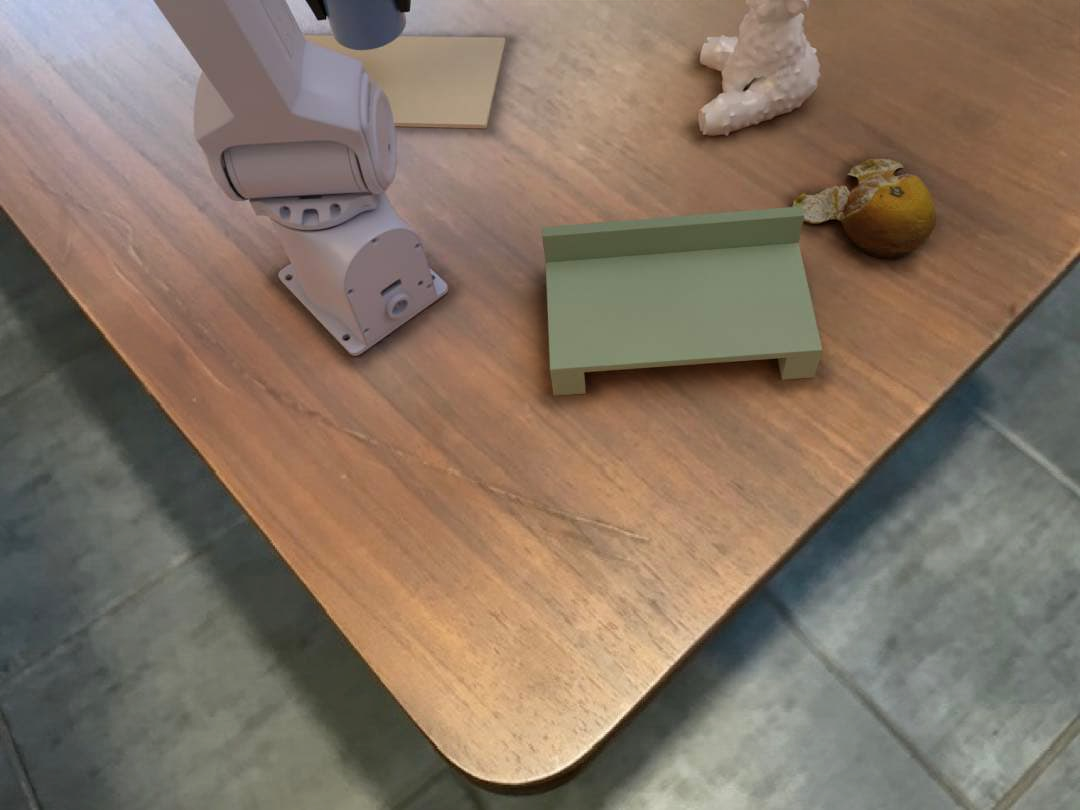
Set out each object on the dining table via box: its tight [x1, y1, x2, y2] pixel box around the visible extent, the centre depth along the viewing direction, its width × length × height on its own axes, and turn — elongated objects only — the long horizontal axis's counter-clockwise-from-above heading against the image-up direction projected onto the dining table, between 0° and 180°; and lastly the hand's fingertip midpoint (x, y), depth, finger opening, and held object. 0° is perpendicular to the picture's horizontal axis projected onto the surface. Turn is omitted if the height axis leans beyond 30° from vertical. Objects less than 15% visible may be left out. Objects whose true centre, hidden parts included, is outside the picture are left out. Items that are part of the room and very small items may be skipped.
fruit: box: [791, 158, 937, 259], centre depth 63 cm, size 8×8×4 cm
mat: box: [303, 34, 507, 129], centre depth 76 cm, size 18×10×1 cm, turn 83°
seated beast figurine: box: [697, 0, 822, 137], centre depth 67 cm, size 10×9×12 cm
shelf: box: [541, 206, 823, 397], centre depth 59 cm, size 9×16×6 cm, turn 92°
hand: (364, 7), depth 71 cm, fingers closed on cup, 5 cm apart
